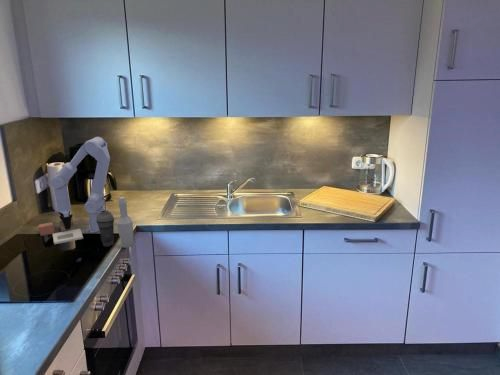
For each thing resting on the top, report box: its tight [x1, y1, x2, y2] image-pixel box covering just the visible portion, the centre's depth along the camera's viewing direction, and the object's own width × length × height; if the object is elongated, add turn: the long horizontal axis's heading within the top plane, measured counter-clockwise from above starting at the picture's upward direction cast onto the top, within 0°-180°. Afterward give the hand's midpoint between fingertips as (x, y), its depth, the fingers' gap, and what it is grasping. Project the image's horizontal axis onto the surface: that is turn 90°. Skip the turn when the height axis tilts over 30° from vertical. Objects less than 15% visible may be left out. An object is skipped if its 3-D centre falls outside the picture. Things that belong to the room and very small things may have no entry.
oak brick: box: [58, 217, 76, 232], centre depth 197 cm, size 4×6×4 cm, turn 118°
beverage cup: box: [96, 200, 115, 247], centre depth 176 cm, size 7×7×20 cm
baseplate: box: [51, 228, 84, 245], centre depth 188 cm, size 12×11×1 cm
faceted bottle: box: [117, 196, 134, 249], centre depth 174 cm, size 6×6×22 cm
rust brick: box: [38, 221, 55, 237], centre depth 193 cm, size 4×6×4 cm, turn 119°
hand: (67, 226), depth 197 cm, fingers open, 6 cm apart
